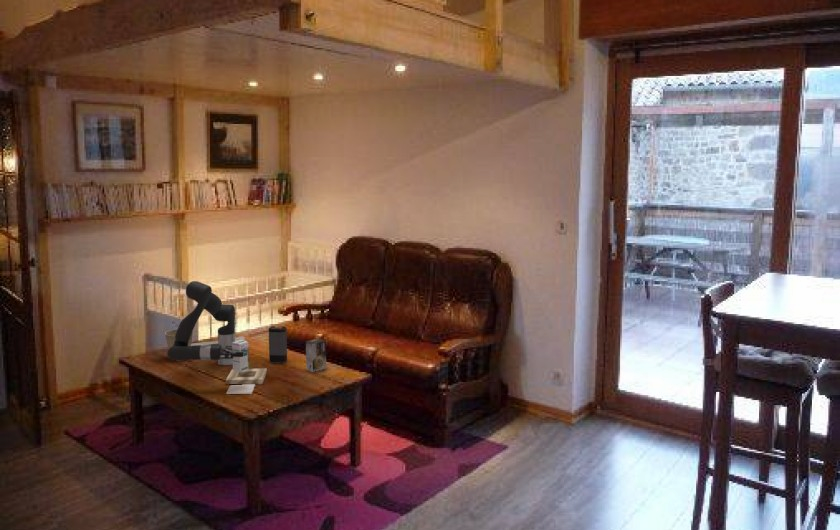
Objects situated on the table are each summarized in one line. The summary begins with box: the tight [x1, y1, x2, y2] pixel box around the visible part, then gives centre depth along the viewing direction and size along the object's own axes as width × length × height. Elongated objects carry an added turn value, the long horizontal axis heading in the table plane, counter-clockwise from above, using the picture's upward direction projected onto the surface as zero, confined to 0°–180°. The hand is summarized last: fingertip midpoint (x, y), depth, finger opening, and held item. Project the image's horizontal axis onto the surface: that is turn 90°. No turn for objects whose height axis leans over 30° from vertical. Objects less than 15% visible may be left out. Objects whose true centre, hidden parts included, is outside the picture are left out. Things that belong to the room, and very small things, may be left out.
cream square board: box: [225, 367, 268, 385], centre depth 346 cm, size 18×18×2 cm
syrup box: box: [232, 339, 250, 372], centre depth 328 cm, size 6×6×14 cm
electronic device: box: [268, 325, 288, 364], centre depth 373 cm, size 9×6×20 cm, turn 84°
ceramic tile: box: [225, 384, 256, 395], centre depth 328 cm, size 12×12×1 cm
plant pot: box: [164, 328, 194, 362], centre depth 377 cm, size 15×15×16 cm
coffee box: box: [305, 338, 327, 373], centre depth 361 cm, size 9×6×16 cm
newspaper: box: [191, 335, 246, 346], centre depth 406 cm, size 35×12×4 cm, turn 116°
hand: (244, 352), depth 328 cm, fingers closed on syrup box, 7 cm apart
